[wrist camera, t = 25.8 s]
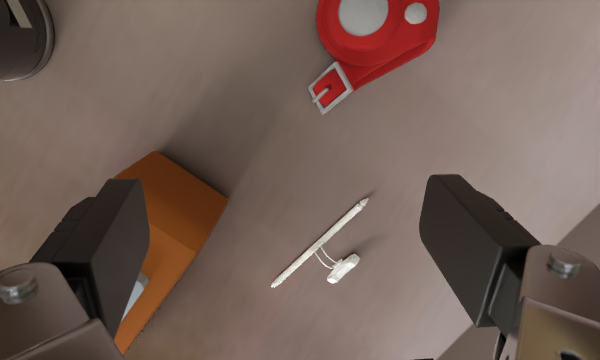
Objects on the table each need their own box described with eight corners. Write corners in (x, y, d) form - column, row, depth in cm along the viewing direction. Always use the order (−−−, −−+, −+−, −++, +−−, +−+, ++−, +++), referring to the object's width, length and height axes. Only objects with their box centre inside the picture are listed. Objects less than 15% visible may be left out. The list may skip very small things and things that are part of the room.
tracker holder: (313, -46, 32) (447, -50, 29) (324, -23, 36) (443, -24, 33) (299, 111, 33) (426, 120, 30) (312, 115, 37) (425, 124, 35)
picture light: (365, 194, 39) (367, 202, 37) (395, 223, 40) (399, 232, 38) (269, 283, 43) (266, 295, 41) (299, 307, 44) (298, 320, 42)
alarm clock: (160, 144, 39) (98, 184, 28) (233, 194, 40) (201, 250, 29) (55, 311, 45) (-27, 395, 35) (120, 349, 47) (61, 441, 36)
